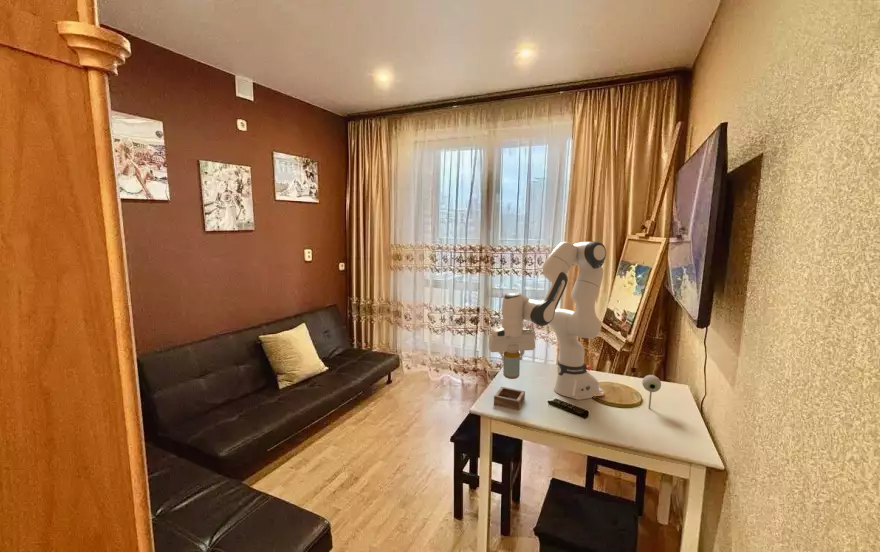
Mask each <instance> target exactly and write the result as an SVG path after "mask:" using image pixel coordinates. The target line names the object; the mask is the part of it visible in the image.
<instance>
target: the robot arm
mask: <svg viewBox="0 0 880 552" xmlns="http://www.w3.org/2000/svg"><path fill="white" fill-rule="evenodd" d="M606 256H607V249H606V246H605V245H604V244H603V243H602V242H599V241H594V240H592V241H581V242H576V243H572V242H569V241H561V242H560V243H559V244H558V245H557V246H555V248H554V249H553V250H552V251H551V252H550V253H549V255H548V256H547V258H546V259H545V261H544V263H543V265H542V274H543V275H544V277H545V278H546V279H547V280H548V281H549V282H551V285H550V287H549V288H548V289H549V290H548V292H547V294H546V296H545V298H544V299H543V300H537V299H533V298H530V297H527V296H524V295H522V293H520V292H517V291H516V292H514V291H513V292H512V291H511V292H509V293H506V294H505V295H504V296H503V299H502V305H501V307H502V308H501V314H502V321H501V324H499V325H497V326H494V327H492V328H491V330H490V332H491V334H490V335H489V338H488V350H489V351H490V352H491V353H499V354H500V356H501V362H503V361H505V357H504V352H507V351H508V345H519V349H518V350H519V353H520V361H522V360H523V356H524V354H525V351H534V350H535V349H536V340H535V337H536V332H535V330H534V329H532V328H527V329H526V328H523V327H524V326H523V325H524V324H523V323H524V322H523V321H528V322H530V323H534V324H535V325H538V326H539V327H545V326H548V325H549V327H550V328H551V329H552V330H553V331H554V333H555V335H556V338H557V341H558V350H559V351H558V353H559V354H558V360H557V367H556V369H557V370H556V371H557V375H556V380H555V384H554V386H553V390H554V391H555V392H556V393H557V394H559V395H561V396H564V397H569V398H572V399H574V400H578V401H580V400H581V401H582V400H585V399H586V400H587V399H593V398H594V397H593V396H595V395H594V394H598V393H600V394H604V395H605V393H604V390H603V389H602V388H601V387H600V385H599V382H598V379H597V378H596V377H595V376H594V375H593V374H591V373H590V372H589V371H591V370H592V366H590V365H588V364H587V363H585V360H584V359H585V347H584V346H583V344H582V343H581V342H580V341H579V339H578V337H579V338H582V339H595V338H597V337H599V334H600V333H601V330H602V323H601V321H600V319H599V318H598V316H597V314H596V311H595V306H596V305H595V304H596V300H597V296H598V293H599V292H600V288H601V286H602V281H603V278H604V277H603V276H604V268H603V267H602V266H603V265H604V263H605V260H606ZM572 266H579V272H578V275H577V278H576V279H575V282H574V285H573V286H572V287H573V288H572V290H571V293H570V298H571V300H572V301H573V302H574V304H575V310H571V309H569V308H568V309H567V308H558V305H559V303H560V300H561V299H562V296H563V295H564V292H565V289H566V288H567V284H568V283H569V282H568V281H569V280H568V278H569V277H568V273H569V271H570V269H571V268H572ZM600 391H603V392H600ZM592 397H593V398H592Z"/></svg>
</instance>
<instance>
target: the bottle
mask: <svg viewBox="0 0 880 552" xmlns="http://www.w3.org/2000/svg"><path fill="white" fill-rule="evenodd" d="M518 349H519V345H508V351H507V352H504V353H503V356H504V357H505V361H502V362H503V369H502V370H503V371H502V372H503V376H504V378H506V379H509V380H516V379H518V378H520V368H521V366H520V363H521V362H520V361H521V360H520V351H519V350H518Z"/></svg>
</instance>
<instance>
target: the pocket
mask: <svg viewBox="0 0 880 552" xmlns="http://www.w3.org/2000/svg"><path fill="white" fill-rule="evenodd" d="M525 396H526V391H524V390H520V389H516V388H511V387H505V386H500V388H499V389H498V390H497V392H496V393H495V394H494V395H493V406H497V407H502V408H506V409H509V410H510V409H511V410H516V411H519V410H520V409H521V406H522V405H523V404H524V402H525V399H526V397H525Z"/></svg>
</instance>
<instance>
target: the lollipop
mask: <svg viewBox="0 0 880 552" xmlns="http://www.w3.org/2000/svg"><path fill="white" fill-rule="evenodd" d="M641 382H642V387H643V388H644V389H645V390H646V391H647V392H649V398H648V409H649V410H651V406H652V393H656V392H658V391H659V390H660V389H661V387H662V381H661V379H659V377H657V376H656V375H653V374H648V375H645V376H643V379H642V381H641Z"/></svg>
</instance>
